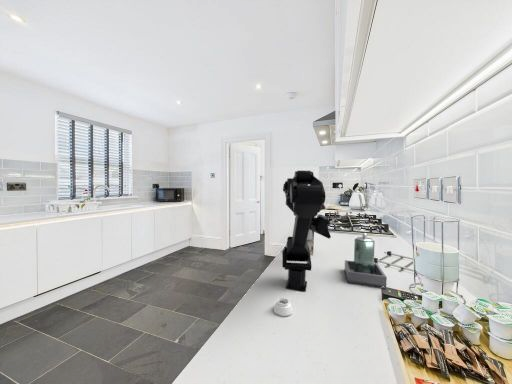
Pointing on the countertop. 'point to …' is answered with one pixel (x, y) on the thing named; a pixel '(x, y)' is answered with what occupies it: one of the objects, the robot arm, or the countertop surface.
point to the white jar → (283, 307)
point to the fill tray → (365, 276)
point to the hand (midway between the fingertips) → (323, 234)
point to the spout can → (364, 255)
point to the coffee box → (310, 241)
